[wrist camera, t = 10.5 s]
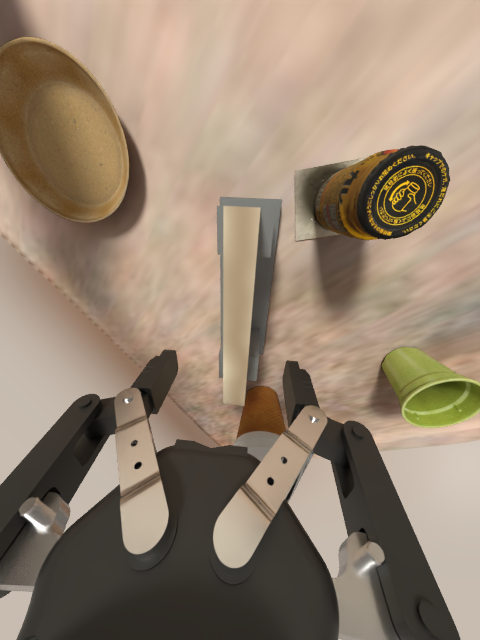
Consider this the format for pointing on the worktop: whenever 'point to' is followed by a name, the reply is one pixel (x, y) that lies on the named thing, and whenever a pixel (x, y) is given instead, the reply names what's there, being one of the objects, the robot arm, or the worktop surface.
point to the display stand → (262, 273)
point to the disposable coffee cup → (260, 422)
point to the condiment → (371, 195)
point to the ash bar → (238, 296)
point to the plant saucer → (60, 131)
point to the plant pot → (430, 389)
